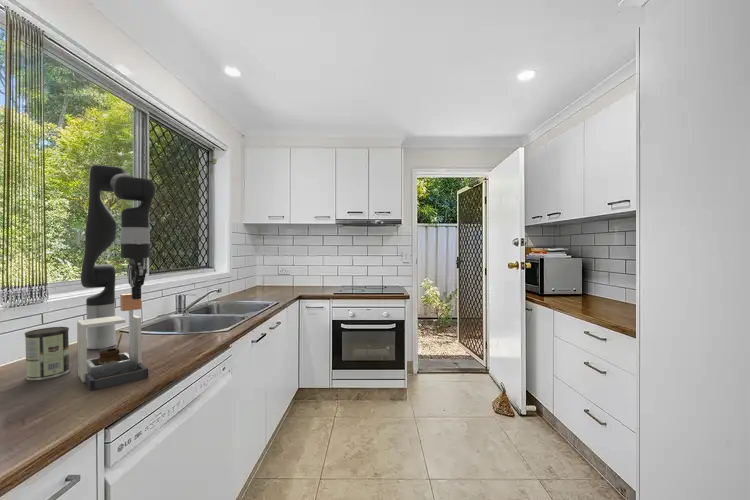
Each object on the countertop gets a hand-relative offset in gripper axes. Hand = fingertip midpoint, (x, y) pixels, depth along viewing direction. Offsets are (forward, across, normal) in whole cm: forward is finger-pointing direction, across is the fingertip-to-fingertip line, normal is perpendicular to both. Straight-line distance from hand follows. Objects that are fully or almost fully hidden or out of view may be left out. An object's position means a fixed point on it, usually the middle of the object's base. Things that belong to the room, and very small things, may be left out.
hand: (136, 299), depth 110 cm
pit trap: (+24, -2, -5) cm, 25 cm away
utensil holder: (+24, -12, -5) cm, 28 cm away
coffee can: (+24, -24, -19) cm, 39 cm away
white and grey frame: (+24, -12, -5) cm, 27 cm away
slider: (+23, -11, -4) cm, 26 cm away
